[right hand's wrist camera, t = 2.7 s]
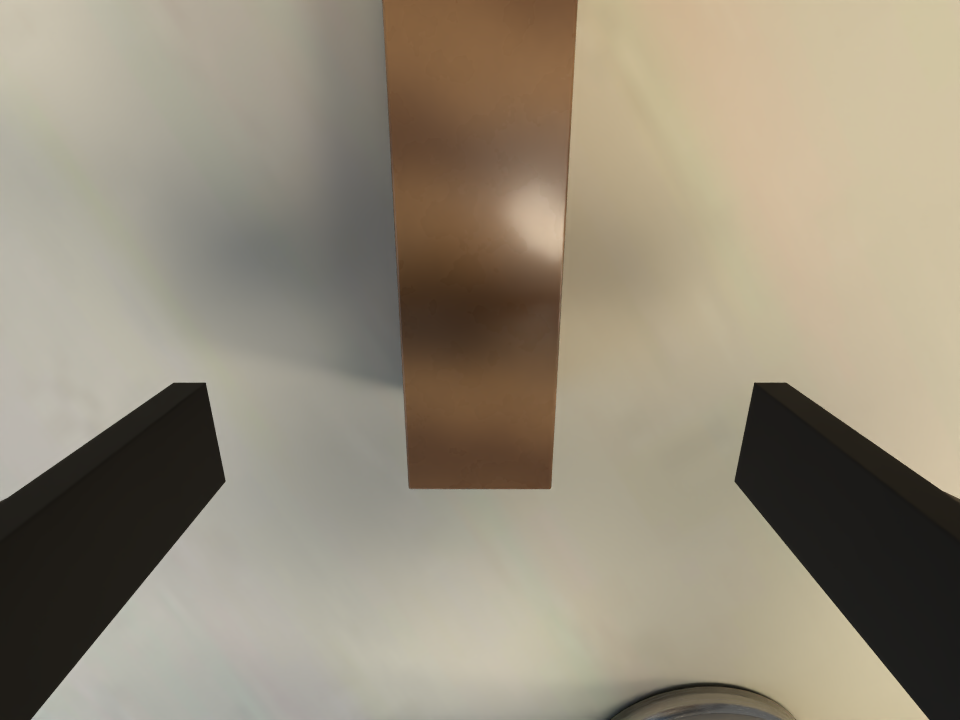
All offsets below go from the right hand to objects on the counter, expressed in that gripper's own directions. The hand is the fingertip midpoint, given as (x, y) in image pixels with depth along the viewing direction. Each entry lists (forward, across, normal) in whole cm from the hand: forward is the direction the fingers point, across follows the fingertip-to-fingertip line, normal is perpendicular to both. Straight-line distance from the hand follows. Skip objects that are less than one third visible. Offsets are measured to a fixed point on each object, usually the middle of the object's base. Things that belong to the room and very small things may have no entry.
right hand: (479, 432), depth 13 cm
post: (+13, 0, -23) cm, 26 cm away
